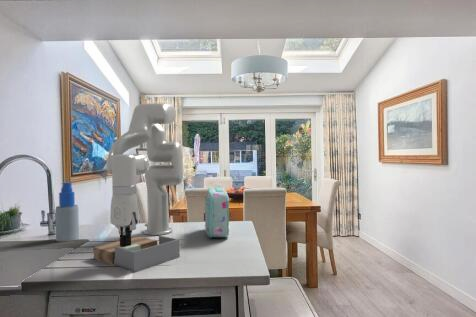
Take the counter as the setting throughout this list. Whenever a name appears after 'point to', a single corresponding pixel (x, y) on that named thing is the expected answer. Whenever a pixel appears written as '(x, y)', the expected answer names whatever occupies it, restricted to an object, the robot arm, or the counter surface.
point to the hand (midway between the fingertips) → (125, 245)
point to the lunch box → (216, 212)
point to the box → (147, 255)
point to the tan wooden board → (108, 250)
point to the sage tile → (133, 247)
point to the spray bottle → (67, 215)
